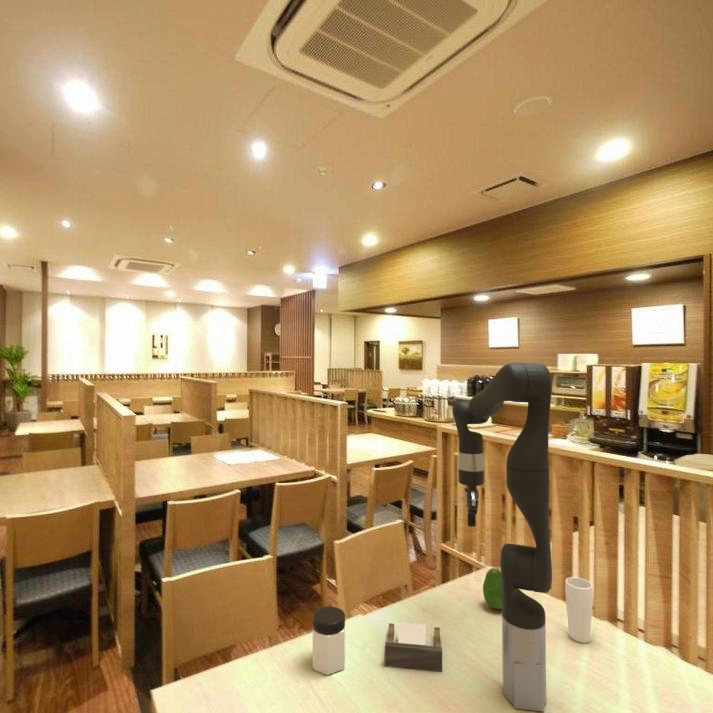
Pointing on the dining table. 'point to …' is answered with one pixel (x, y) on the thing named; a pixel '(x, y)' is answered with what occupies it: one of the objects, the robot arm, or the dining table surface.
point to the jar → (328, 640)
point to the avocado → (493, 588)
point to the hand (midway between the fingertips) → (471, 525)
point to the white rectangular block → (412, 633)
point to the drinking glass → (579, 608)
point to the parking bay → (413, 653)
